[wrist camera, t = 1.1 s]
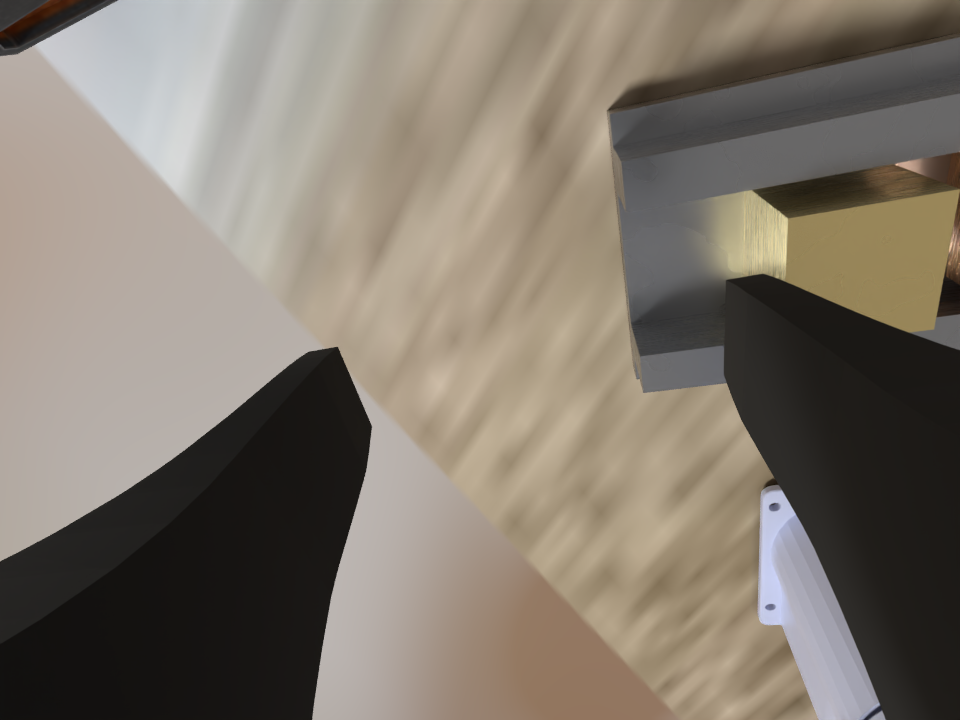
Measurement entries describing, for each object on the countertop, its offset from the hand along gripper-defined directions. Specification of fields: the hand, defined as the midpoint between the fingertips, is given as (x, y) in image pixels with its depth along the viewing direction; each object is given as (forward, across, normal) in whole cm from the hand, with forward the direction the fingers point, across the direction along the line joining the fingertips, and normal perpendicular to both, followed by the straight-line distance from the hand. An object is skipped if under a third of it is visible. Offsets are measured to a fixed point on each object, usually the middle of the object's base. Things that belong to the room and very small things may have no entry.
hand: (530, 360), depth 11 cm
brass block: (+10, -9, +3) cm, 14 cm away
